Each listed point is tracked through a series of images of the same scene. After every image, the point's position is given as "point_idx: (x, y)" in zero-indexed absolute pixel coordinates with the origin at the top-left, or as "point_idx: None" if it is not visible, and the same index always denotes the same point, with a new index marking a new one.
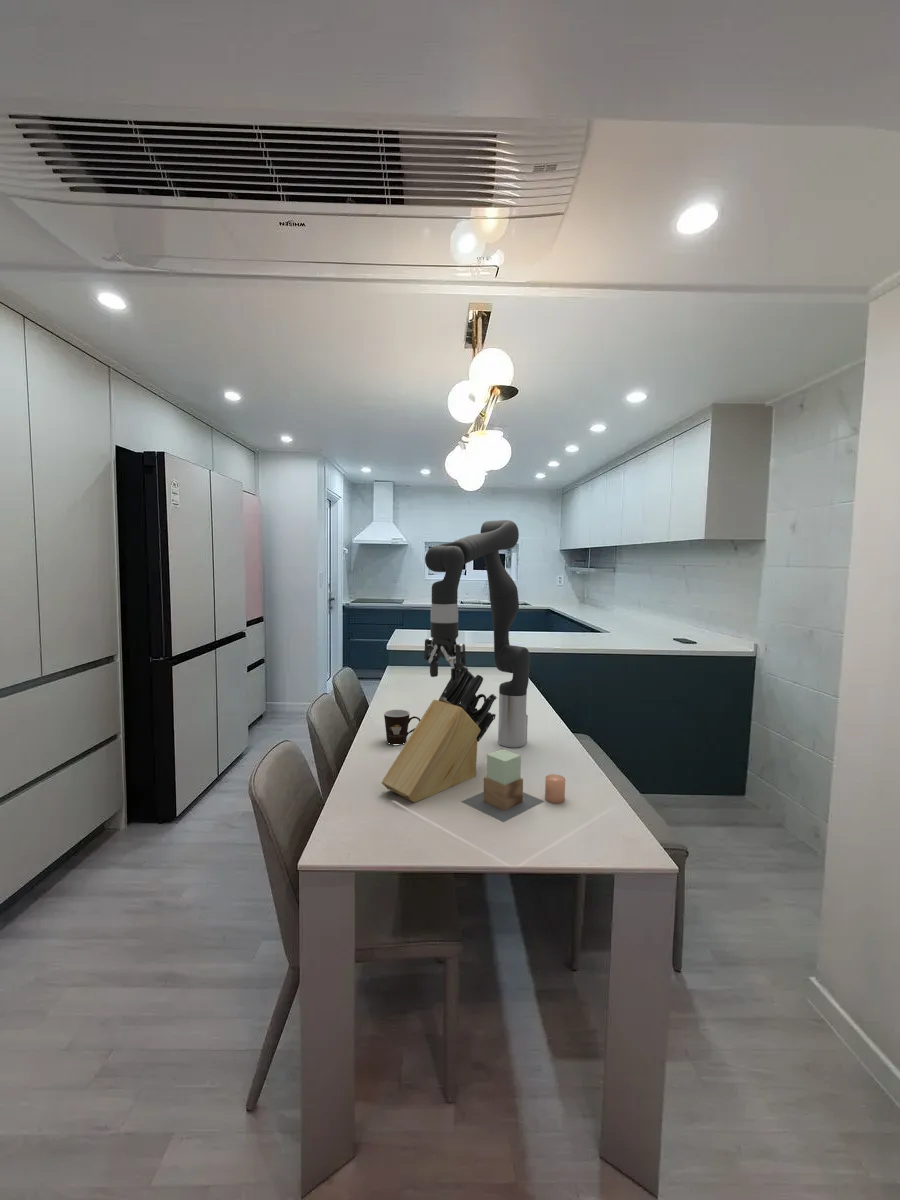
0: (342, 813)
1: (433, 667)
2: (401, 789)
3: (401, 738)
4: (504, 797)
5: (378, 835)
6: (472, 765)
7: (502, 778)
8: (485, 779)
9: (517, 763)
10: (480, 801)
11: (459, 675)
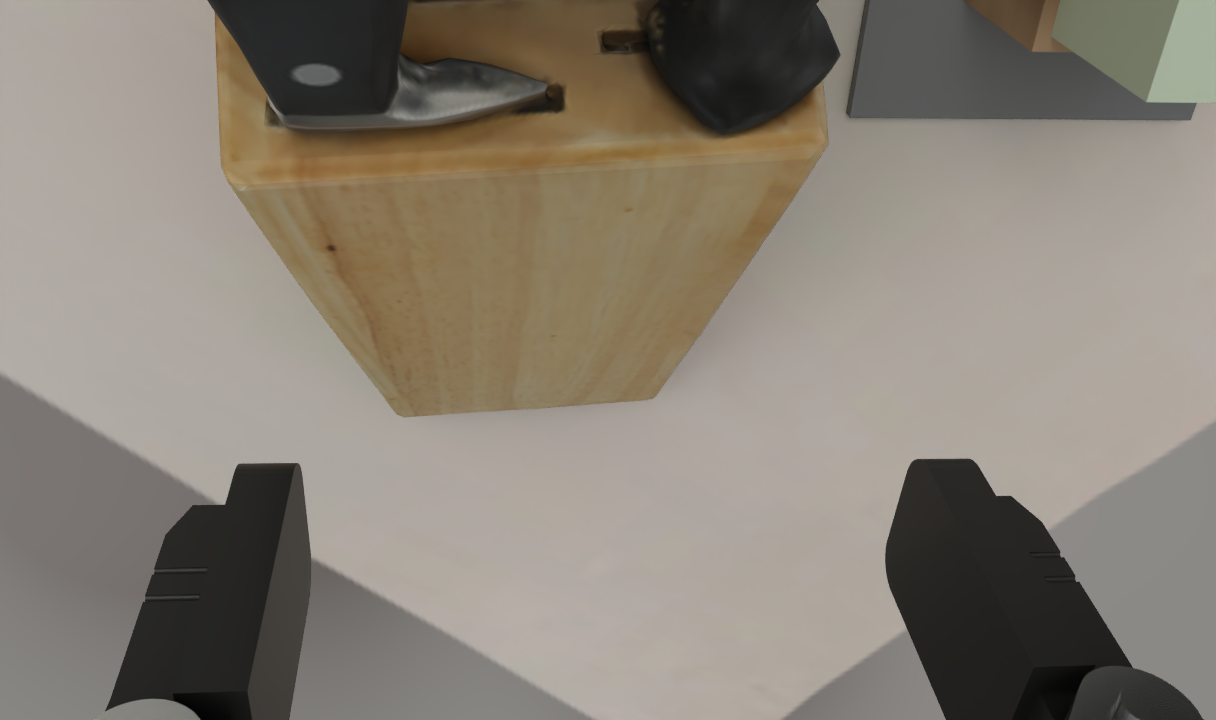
0: (465, 591)
1: (279, 715)
2: (584, 402)
3: None
4: None
5: (743, 573)
6: None
7: None
8: (1044, 48)
9: None
10: (952, 24)
11: (1065, 562)
